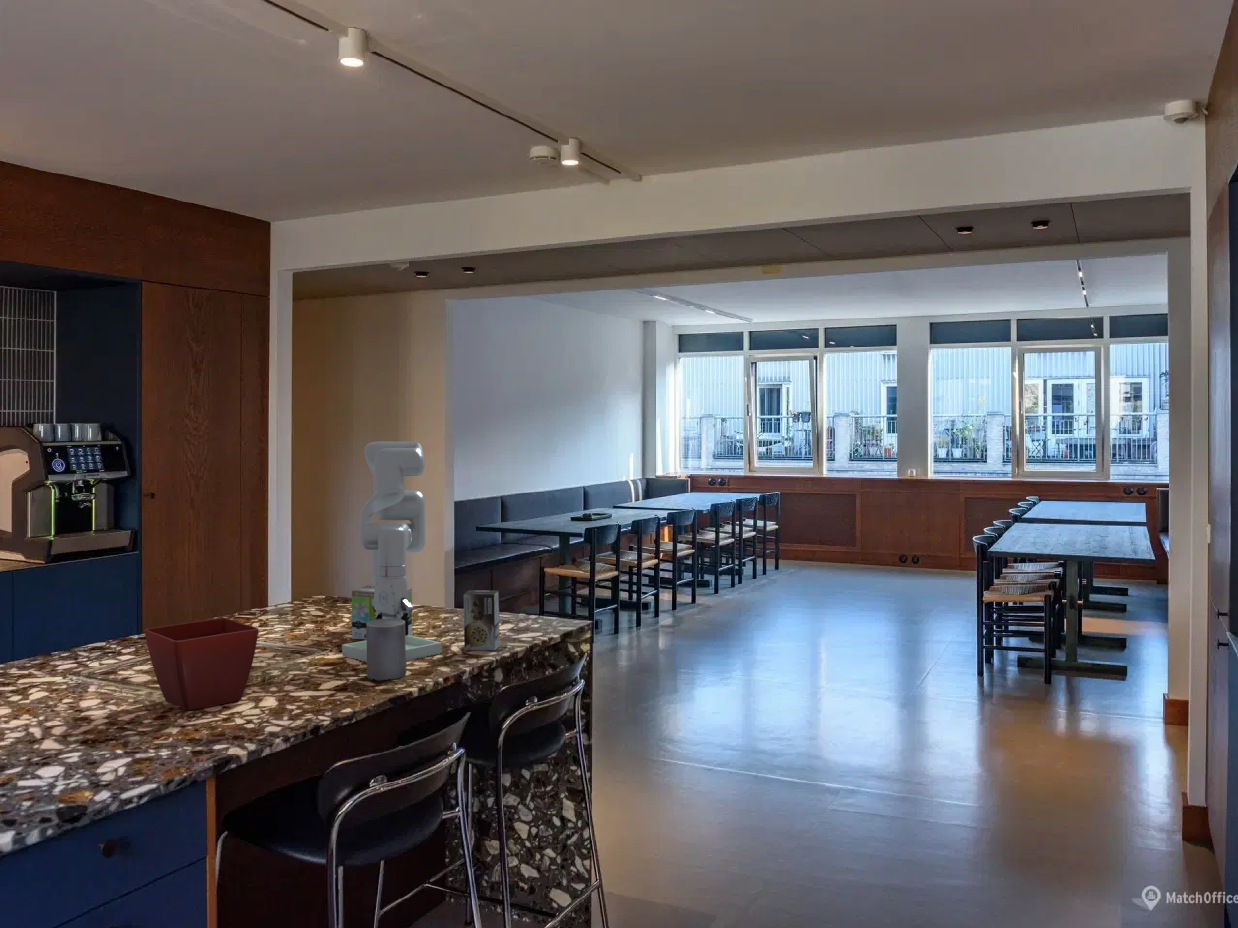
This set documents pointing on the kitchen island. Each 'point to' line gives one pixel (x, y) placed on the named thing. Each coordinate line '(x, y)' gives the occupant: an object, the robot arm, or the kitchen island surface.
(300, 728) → the kitchen island surface
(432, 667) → the kitchen island surface
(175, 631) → the plant pot
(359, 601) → the tea box
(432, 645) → the tray
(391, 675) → the pillar candle
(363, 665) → the kitchen island surface
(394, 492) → the robot arm
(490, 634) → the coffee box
